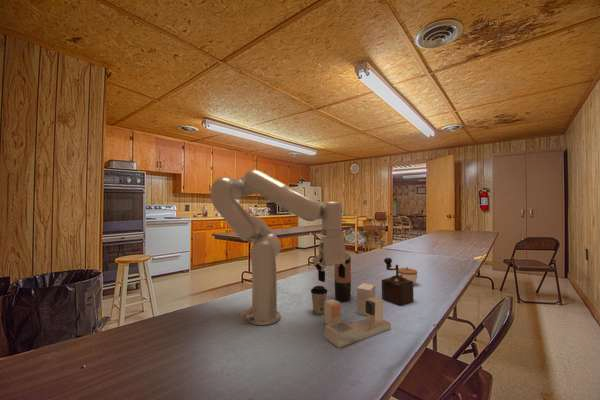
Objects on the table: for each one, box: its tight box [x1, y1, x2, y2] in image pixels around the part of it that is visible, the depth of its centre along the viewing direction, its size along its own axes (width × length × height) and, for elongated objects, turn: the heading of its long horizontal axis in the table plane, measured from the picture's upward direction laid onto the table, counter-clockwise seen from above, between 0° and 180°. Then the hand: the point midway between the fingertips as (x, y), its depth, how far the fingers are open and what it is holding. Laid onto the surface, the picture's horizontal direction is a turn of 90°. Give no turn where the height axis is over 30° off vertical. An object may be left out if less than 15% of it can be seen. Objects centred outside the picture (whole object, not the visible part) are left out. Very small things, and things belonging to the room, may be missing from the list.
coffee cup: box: [310, 285, 328, 315], centre depth 110 cm, size 7×7×10 cm
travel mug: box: [334, 256, 352, 303], centre depth 124 cm, size 8×8×20 cm
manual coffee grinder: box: [381, 257, 415, 307], centre depth 125 cm, size 16×11×18 cm
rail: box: [323, 296, 392, 349], centre depth 91 cm, size 24×8×10 cm, turn 122°
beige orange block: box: [323, 298, 341, 325], centre depth 99 cm, size 5×4×8 cm
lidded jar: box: [398, 266, 418, 285], centre depth 147 cm, size 11×11×9 cm
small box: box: [356, 282, 376, 316], centre depth 110 cm, size 8×6×10 cm
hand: (332, 279), depth 100 cm, fingers open, 9 cm apart
